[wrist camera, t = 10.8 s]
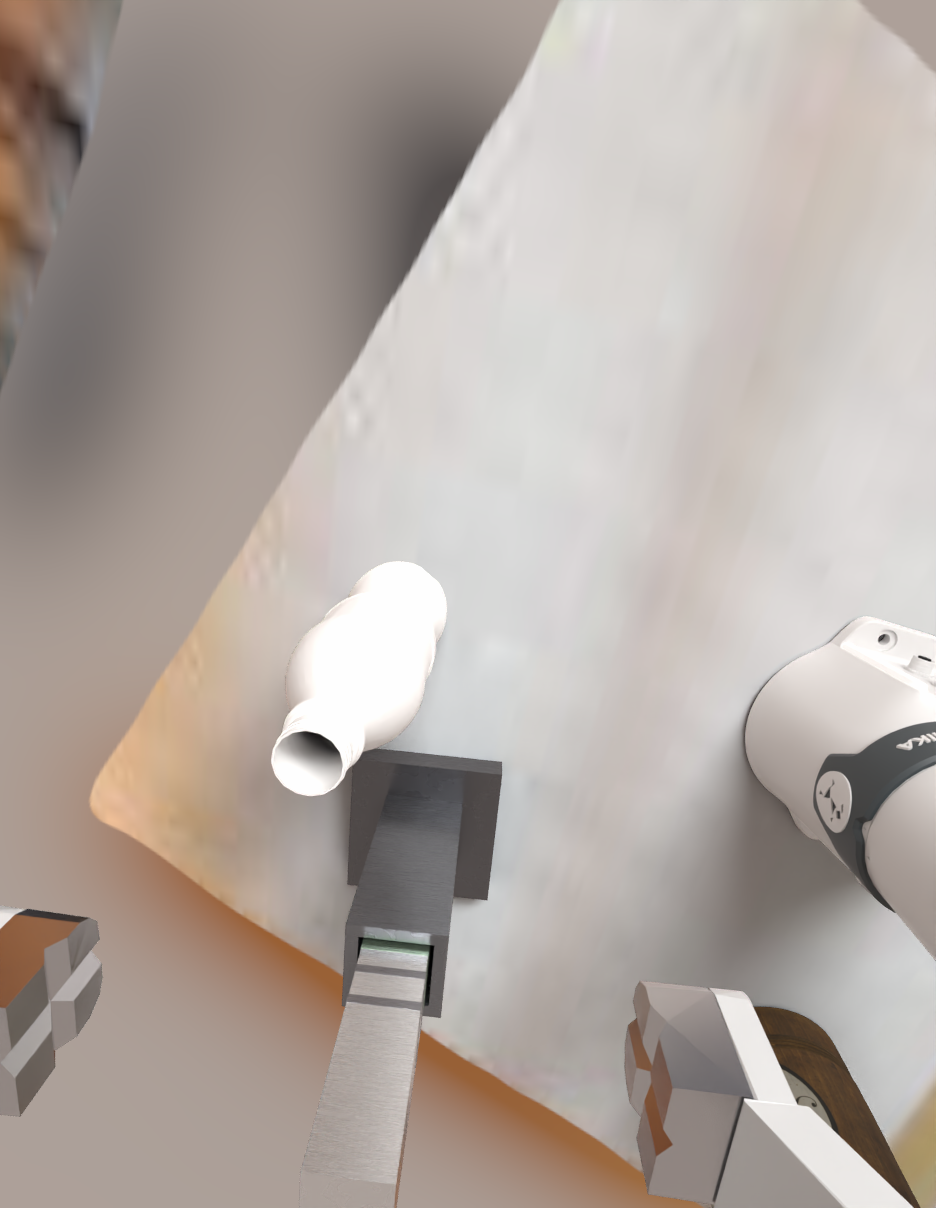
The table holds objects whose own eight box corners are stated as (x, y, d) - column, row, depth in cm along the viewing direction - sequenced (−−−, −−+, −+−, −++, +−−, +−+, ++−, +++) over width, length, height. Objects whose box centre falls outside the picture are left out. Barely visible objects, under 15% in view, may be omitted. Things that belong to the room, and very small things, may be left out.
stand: (501, 762, 52) (502, 908, 36) (487, 883, 55) (482, 1068, 39) (358, 746, 52) (295, 885, 36) (352, 868, 55) (292, 1045, 39)
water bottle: (429, 658, 50) (360, 867, 26) (345, 622, 49) (195, 801, 25) (464, 577, 48) (427, 721, 24) (378, 540, 47) (250, 648, 23)
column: (441, 863, 45) (396, 1184, 26) (437, 909, 46) (391, 1251, 27) (385, 856, 45) (299, 1172, 26) (382, 903, 46) (297, 1239, 27)
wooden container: (735, 979, 56) (876, 1308, 35) (870, 1047, 57) (1086, 1406, 36) (645, 1085, 60) (723, 1441, 39) (774, 1147, 61) (918, 1525, 40)
